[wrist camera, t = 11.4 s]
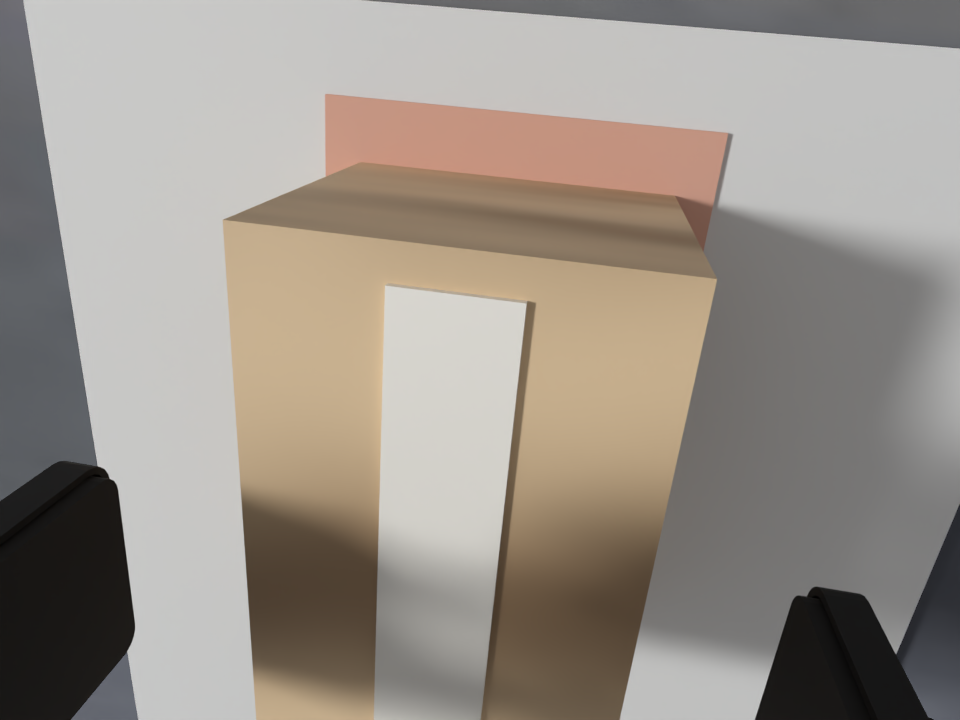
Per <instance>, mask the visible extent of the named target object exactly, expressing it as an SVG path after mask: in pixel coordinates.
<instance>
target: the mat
mask: <svg viewBox="0 0 960 720" xmlns="http://www.w3.org/2000/svg"><path fill="white" fill-rule="evenodd" d="M24 7H25V13H26V19H27V25H28V32H29V38H30V44H31V50H32V57H33V63H34V69H35V75H36V82H37V88H38V94H39V101H40V107H41V113H42V119H43V126H44V132H45V138H46V144H47V151H48V157H49V163H50V169H51V176H52V182H53V188H54V194H55V201H56V207H57V213H58V220H59V226H60V232H61V238H62V245H63V251H64V257H65V263H66V270H67V276H68V282H69V288H70V295H71V301H72V307H73V314H74V320H75V326H76V332H77V339H78V345H79V351H80V357H81V364H82V370H83V376H84V382H85V389H86V395H87V401H88V407H89V414H90V420H91V426H92V433H93V439H94V445H95V451H96V458H97V464H98V467H101V468H103V469H105V470H106V472H107V473H108V475H109V479H111V480H113V481H115V483H116V484H117V487H118V493H119V501H120V509H121V517H122V524H123V532H124V540H125V548H126V556H127V564H128V572H129V580H130V588H131V595H132V603H133V611H134V619H135V633H134V638H133V641H132V643H131V645H130V647H129V649H128V651H127V652H128V658H129V664H130V671H131V677H132V683H133V689H134V696H135V702H136V708H137V714H138V720H256V709H255V694H254V680H253V665H252V650H251V635H250V620H249V605H248V590H247V576H246V561H245V546H244V531H243V516H242V501H241V486H240V472H239V457H238V442H237V427H236V412H235V397H234V383H233V368H232V353H231V338H230V323H229V308H228V293H227V279H226V264H225V249H224V234H223V219H226V218H228V217H231V216H233V215H235V214H238V213H240V212H242V211H245V210H247V209H250V208H252V207H254V206H257V205H259V204H262V203H264V202H266V201H269V200H271V199H273V198H276V197H278V196H281V195H283V194H285V193H288V192H290V191H293V190H295V189H297V188H300V187H302V186H304V185H307V184H309V183H312V182H314V181H316V180H319V179H321V178H324V177H326V176H328V175H331V174H333V173H335V172H338V171H340V170H343V169H345V168H347V167H350V166H352V165H355V164H357V163H359V162H365V163H375V164H384V165H393V166H403V167H412V168H421V169H431V170H440V171H449V172H459V173H468V174H477V175H487V176H496V177H505V178H515V179H524V180H533V181H543V182H552V183H561V184H571V185H580V186H589V187H599V188H608V189H617V190H627V191H636V192H645V193H655V194H664V195H673V196H675V197H676V199H677V201H678V203H679V205H680V207H681V209H682V211H683V213H684V215H685V216H686V218H687V220H688V222H689V224H690V226H691V228H692V230H693V232H694V234H695V236H696V238H697V240H698V242H699V244H700V246H701V248H702V250H703V252H704V254H705V256H706V258H707V260H708V262H709V264H710V266H711V268H712V270H713V272H714V274H715V276H716V278H717V282H716V287H715V291H714V296H713V301H712V305H711V310H710V314H709V319H708V323H707V328H706V332H705V337H704V341H703V346H702V350H701V355H700V359H699V364H698V368H697V373H696V377H695V382H694V386H693V391H692V395H691V400H690V404H689V409H688V413H687V418H686V422H685V427H684V431H683V436H682V440H681V445H680V449H679V454H678V458H677V463H676V467H675V472H674V477H673V481H672V486H671V490H670V495H669V499H668V504H667V508H666V513H665V517H664V522H663V526H662V531H661V535H660V540H659V544H658V549H657V553H656V558H655V562H654V567H653V571H652V576H651V580H650V585H649V589H648V594H647V598H646V603H645V607H644V612H643V616H642V621H641V625H640V630H639V634H638V639H637V644H636V648H635V653H634V657H633V662H632V666H631V671H630V675H629V680H628V684H627V689H626V693H625V698H624V702H623V707H622V711H621V716H620V720H755V718H756V715H757V711H758V708H759V705H760V702H761V699H762V695H763V692H764V689H765V686H766V683H767V679H768V676H769V673H770V670H771V667H772V664H773V660H774V657H775V654H776V651H777V648H778V644H779V641H780V638H781V635H782V632H783V628H784V625H785V622H786V619H787V616H788V613H789V609H790V606H791V603H792V601H793V599H794V598H795V596H798V595H800V596H806V597H807V595H808V593H809V591H810V590H811V589H812V588H813V587H816V586H817V587H823V588H829V589H835V590H841V591H847V592H853V593H859V594H862V595H864V596H865V597H866V599H867V600H868V601H869V603H870V605H871V607H872V609H873V611H874V613H875V615H876V617H877V619H878V621H879V623H880V625H881V627H882V628H883V630H884V632H885V634H886V636H887V638H888V640H889V642H890V644H891V646H892V648H893V650H894V652H895V654H897V651H898V649H899V647H900V644H901V642H902V639H903V637H904V635H905V632H906V630H907V628H908V625H909V623H910V620H911V618H912V616H913V613H914V611H915V609H916V606H917V604H918V601H919V599H920V597H921V594H922V592H923V590H924V587H925V585H926V582H927V580H928V578H929V575H930V573H931V571H932V568H933V566H934V563H935V561H936V559H937V556H938V554H939V552H940V549H941V547H942V544H943V542H944V540H945V537H946V535H947V533H948V530H949V528H950V525H951V523H952V521H953V518H954V516H955V514H956V511H957V509H958V506H959V504H960V49H957V48H945V47H932V46H920V45H907V44H895V43H883V42H870V41H858V40H846V39H833V38H821V37H809V36H796V35H784V34H771V33H759V32H747V31H734V30H722V29H710V28H697V27H685V26H672V25H660V24H648V23H635V22H623V21H611V20H598V19H586V18H573V17H561V16H549V15H536V14H524V13H512V12H499V11H487V10H474V9H462V8H450V7H437V6H425V5H413V4H400V3H388V2H375V1H363V0H24Z"/></svg>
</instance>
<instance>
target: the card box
mask: <svg viewBox="0 0 960 720" xmlns="http://www.w3.org/2000/svg"><path fill="white" fill-rule="evenodd" d="M223 234H224V249H225V264H226V279H227V293H228V308H229V323H230V338H231V353H232V368H233V383H234V397H235V412H236V427H237V442H238V457H239V472H240V486H241V501H242V516H243V531H244V546H245V561H246V576H247V590H248V605H249V620H250V635H251V650H252V665H253V680H254V694H255V709H256V720H620V716H621V711H622V707H623V702H624V698H625V693H626V689H627V684H628V680H629V675H630V671H631V666H632V662H633V657H634V653H635V648H636V644H637V639H638V634H639V630H640V625H641V621H642V616H643V612H644V607H645V603H646V598H647V594H648V589H649V585H650V580H651V576H652V571H653V567H654V562H655V558H656V553H657V549H658V544H659V540H660V535H661V531H662V526H663V522H664V517H665V513H666V508H667V504H668V499H669V495H670V490H671V486H672V481H673V477H674V472H675V467H676V463H677V458H678V454H679V449H680V445H681V440H682V436H683V431H684V427H685V422H686V418H687V413H688V409H689V404H690V400H691V395H692V391H693V386H694V382H695V377H696V373H697V368H698V364H699V359H700V355H701V350H702V346H703V341H704V337H705V332H706V328H707V323H708V319H709V314H710V310H711V305H712V301H713V296H714V291H715V287H716V282H717V278H716V276H715V274H714V272H713V270H712V268H711V266H710V264H709V262H708V260H707V258H706V256H705V254H704V252H703V250H702V248H701V246H700V244H699V242H698V240H697V238H696V236H695V234H694V232H693V230H692V228H691V226H690V224H689V222H688V220H687V218H686V216H685V215H684V213H683V211H682V209H681V207H680V205H679V203H678V201H677V199H676V197H675V196H673V195H664V194H655V193H645V192H636V191H627V190H617V189H608V188H599V187H589V186H580V185H571V184H561V183H552V182H543V181H533V180H524V179H515V178H505V177H496V176H487V175H477V174H468V173H459V172H449V171H440V170H431V169H421V168H412V167H403V166H393V165H384V164H375V163H365V162H359V163H357V164H355V165H352V166H350V167H347V168H345V169H343V170H340V171H338V172H335V173H333V174H331V175H328V176H326V177H324V178H321V179H319V180H316V181H314V182H312V183H309V184H307V185H304V186H302V187H300V188H297V189H295V190H293V191H290V192H288V193H285V194H283V195H281V196H278V197H276V198H273V199H271V200H269V201H266V202H264V203H262V204H259V205H257V206H254V207H252V208H250V209H247V210H245V211H242V212H240V213H238V214H235V215H233V216H231V217H228V218H226V219H223Z"/></svg>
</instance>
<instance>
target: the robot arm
mask: <svg viewBox="0 0 960 720" xmlns="http://www.w3.org/2000/svg"><path fill="white" fill-rule="evenodd" d="M134 633H135V619H134V611H133V603H132V595H131V588H130V580H129V572H128V564H127V556H126V548H125V540H124V532H123V524H122V517H121V509H120V501H119V493H118V487H117V484H116V483H115V481H113V480H111V479H109V475H108V473H107V472H106V470H105V469H103V468H101V467H98V466H92V465H86V464H80V463H74V462H68V461H60V462H57V463H55V464H53V465H52V466H50V467H49V468H47V469H46V470H44V471H43V472H42V473H40V474H39V475H37V476H36V477H34V478H33V479H32V480H30V481H29V482H27V483H26V484H24V485H23V486H21V487H20V488H19V489H17V490H16V491H14V492H13V493H11V494H10V495H9V496H7V497H6V498H4V499H3V500H1V501H0V720H71V719H72V717H73V716H74V715H75V714H76V713H77V711H78V710H79V709H80V708H81V707H82V705H83V704H84V703H85V702H86V701H87V699H88V698H89V697H90V696H91V695H92V693H93V692H94V691H95V690H96V689H97V687H98V686H99V685H100V684H101V683H102V681H103V680H104V679H105V678H106V677H107V675H108V674H109V673H110V672H111V671H112V669H113V668H114V667H115V666H116V665H117V663H118V662H119V661H120V660H121V659H122V657H123V656H124V655H125V654H126V652H127V651H128V649H129V647H130V645H131V643H132V641H133V638H134ZM755 720H933V719H932V718H928V716H927V714H926V712H925V710H924V708H923V707H922V705H921V703H920V701H919V699H918V697H917V695H916V693H915V691H914V689H913V687H912V685H911V683H910V681H909V679H908V677H907V675H906V673H905V671H904V669H903V668H902V666H901V664H900V662H899V660H898V658H897V656H896V654H895V652H894V650H893V648H892V646H891V644H890V642H889V640H888V638H887V636H886V634H885V632H884V630H883V628H882V627H881V625H880V623H879V621H878V619H877V617H876V615H875V613H874V611H873V609H872V607H871V605H870V603H869V601H868V600H867V599H866V597H865V596H864V595H862V594H859V593H853V592H847V591H841V590H835V589H829V588H823V587H817V586H816V587H813V588H812V589H811V590H810V591H809V593H808V595H807V597H806V596H800V595H798V596H795V598H794V599H793V601H792V603H791V606H790V609H789V613H788V616H787V619H786V622H785V625H784V628H783V632H782V635H781V638H780V641H779V644H778V648H777V651H776V654H775V657H774V660H773V664H772V667H771V670H770V673H769V676H768V679H767V683H766V686H765V689H764V692H763V695H762V699H761V702H760V705H759V708H758V711H757V715H756V718H755Z"/></svg>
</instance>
